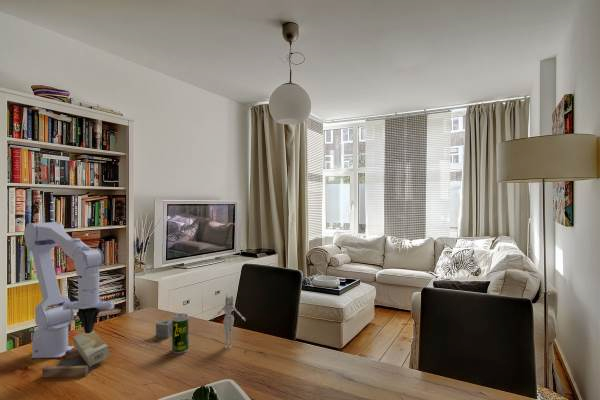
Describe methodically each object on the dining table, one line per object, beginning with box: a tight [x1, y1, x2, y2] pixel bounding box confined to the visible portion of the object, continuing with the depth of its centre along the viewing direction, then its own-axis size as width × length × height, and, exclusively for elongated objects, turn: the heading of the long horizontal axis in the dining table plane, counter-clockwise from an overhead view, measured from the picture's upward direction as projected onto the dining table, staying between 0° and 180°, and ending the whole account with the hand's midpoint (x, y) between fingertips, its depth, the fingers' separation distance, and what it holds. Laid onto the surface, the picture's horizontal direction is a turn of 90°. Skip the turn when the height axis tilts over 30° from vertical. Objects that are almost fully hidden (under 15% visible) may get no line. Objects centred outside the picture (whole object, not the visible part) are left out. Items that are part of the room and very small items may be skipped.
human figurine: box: [212, 294, 246, 349], centre depth 129 cm, size 12×4×18 cm, turn 83°
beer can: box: [171, 313, 190, 355], centre depth 125 cm, size 5×5×12 cm
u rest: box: [42, 349, 102, 378], centre depth 113 cm, size 12×13×2 cm
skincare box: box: [72, 329, 111, 367], centre depth 117 cm, size 6×4×12 cm
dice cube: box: [155, 319, 172, 339], centre depth 138 cm, size 5×5×5 cm
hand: (88, 332), depth 114 cm, fingers closed
